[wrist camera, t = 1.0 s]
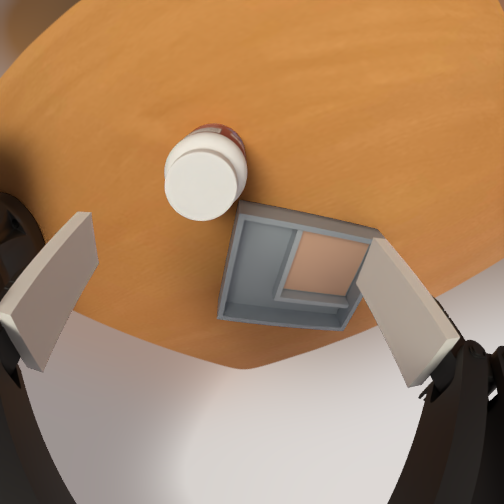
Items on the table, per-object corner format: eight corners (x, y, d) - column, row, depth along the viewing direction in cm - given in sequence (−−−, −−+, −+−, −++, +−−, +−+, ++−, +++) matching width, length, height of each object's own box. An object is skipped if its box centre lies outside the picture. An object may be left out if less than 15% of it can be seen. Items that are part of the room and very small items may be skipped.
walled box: (218, 300, 37) (217, 318, 34) (239, 199, 29) (239, 213, 26) (336, 313, 39) (343, 331, 36) (377, 229, 32) (389, 243, 29)
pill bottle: (247, 178, 28) (254, 227, 19) (188, 185, 28) (164, 237, 19) (241, 118, 25) (244, 134, 16) (178, 127, 25) (144, 149, 16)
